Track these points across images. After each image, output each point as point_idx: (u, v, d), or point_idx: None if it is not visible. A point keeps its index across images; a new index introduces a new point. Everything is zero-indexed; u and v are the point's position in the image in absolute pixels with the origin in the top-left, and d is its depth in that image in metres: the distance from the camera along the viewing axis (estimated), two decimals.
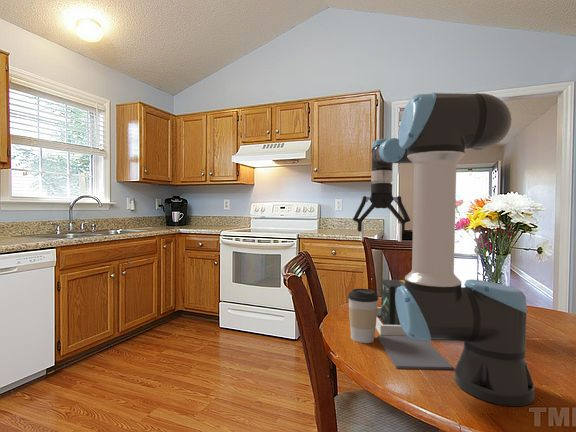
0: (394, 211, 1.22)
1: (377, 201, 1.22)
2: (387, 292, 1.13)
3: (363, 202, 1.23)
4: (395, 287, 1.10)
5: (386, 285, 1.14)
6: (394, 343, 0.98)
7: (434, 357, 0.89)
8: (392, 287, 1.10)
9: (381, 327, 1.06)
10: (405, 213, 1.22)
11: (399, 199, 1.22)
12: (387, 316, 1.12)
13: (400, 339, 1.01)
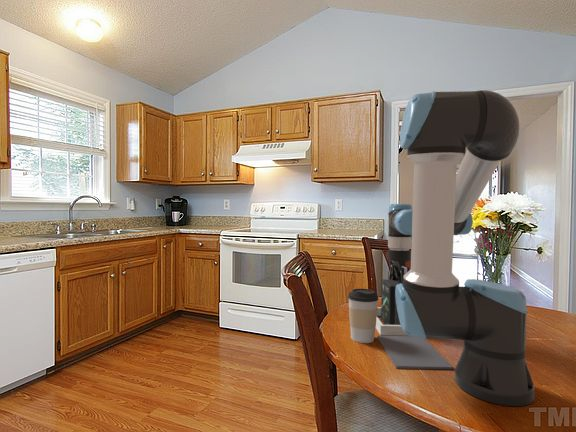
0: (399, 282, 1.11)
1: (392, 268, 1.17)
2: (387, 292, 1.13)
3: (390, 267, 1.22)
4: (395, 287, 1.10)
5: (386, 285, 1.14)
6: (394, 343, 0.98)
7: (434, 357, 0.89)
8: (392, 287, 1.10)
9: (381, 327, 1.06)
10: None
11: (401, 270, 1.09)
12: (387, 316, 1.12)
13: (400, 339, 1.01)
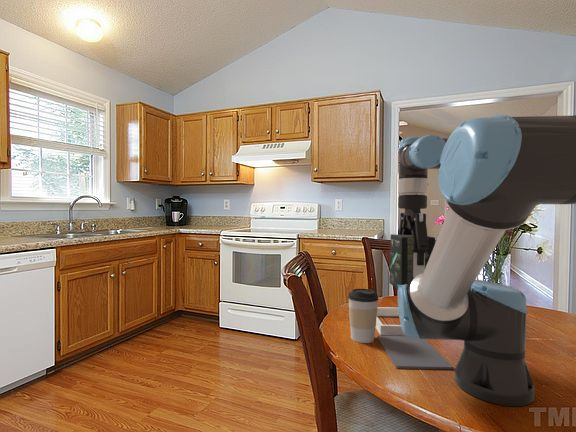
0: (412, 234, 0.90)
1: (403, 218, 0.96)
2: (398, 246, 0.92)
3: (400, 221, 1.00)
4: (408, 238, 0.89)
5: (396, 238, 0.93)
6: (394, 343, 0.98)
7: (434, 357, 0.89)
8: (404, 238, 0.89)
9: (381, 327, 1.06)
10: (417, 238, 0.86)
11: (415, 218, 0.88)
12: (398, 276, 0.91)
13: (400, 339, 1.01)
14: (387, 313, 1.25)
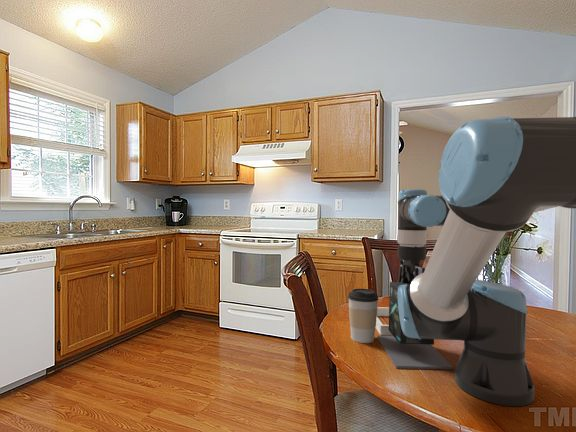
0: None
1: (402, 268, 0.96)
2: (397, 298, 0.92)
3: (399, 268, 1.01)
4: None
5: (395, 289, 0.93)
6: (394, 343, 0.98)
7: (434, 357, 0.89)
8: None
9: (381, 327, 1.06)
10: None
11: (414, 272, 0.88)
12: (397, 327, 0.91)
13: None
14: (387, 313, 1.25)
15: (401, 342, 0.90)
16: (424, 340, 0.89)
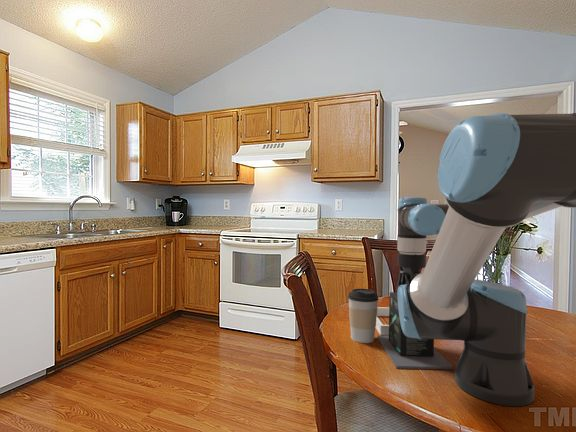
0: None
1: (402, 275, 0.96)
2: (397, 309, 0.92)
3: (399, 273, 1.01)
4: None
5: (395, 300, 0.93)
6: None
7: (434, 357, 0.89)
8: None
9: (381, 327, 1.06)
10: None
11: None
12: (397, 339, 0.91)
13: None
14: (387, 313, 1.25)
15: (401, 353, 0.90)
16: (424, 352, 0.89)
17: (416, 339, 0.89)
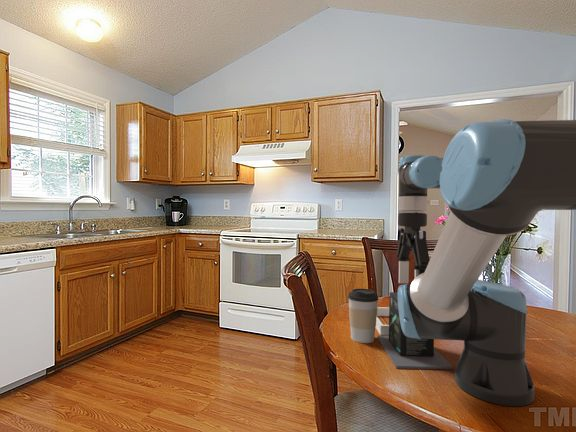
0: (413, 251, 0.89)
1: (403, 236, 0.96)
2: (397, 309, 0.92)
3: (400, 236, 1.01)
4: None
5: (395, 300, 0.93)
6: None
7: (434, 357, 0.89)
8: None
9: (381, 327, 1.06)
10: (418, 255, 0.86)
11: (415, 235, 0.88)
12: (397, 339, 0.91)
13: None
14: (387, 313, 1.25)
15: (401, 353, 0.90)
16: (424, 352, 0.89)
17: (416, 339, 0.89)
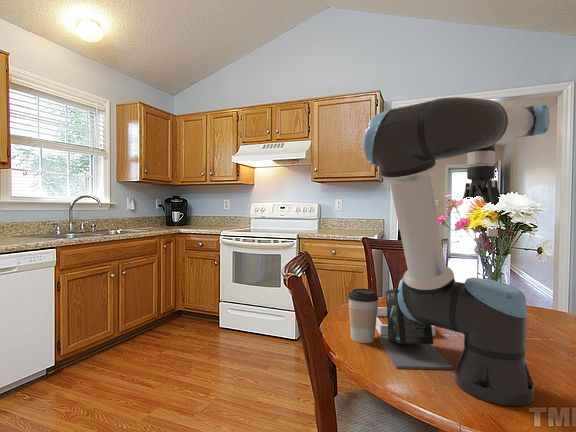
0: (484, 199, 1.01)
1: (471, 188, 1.07)
2: (393, 298, 0.96)
3: (465, 190, 1.12)
4: None
5: (391, 291, 0.98)
6: (394, 343, 0.98)
7: (434, 357, 0.89)
8: None
9: (381, 327, 1.06)
10: (492, 201, 0.97)
11: (487, 184, 0.99)
12: (396, 328, 0.93)
13: None
14: None
15: (400, 341, 0.90)
16: (423, 339, 0.90)
17: (414, 326, 0.91)
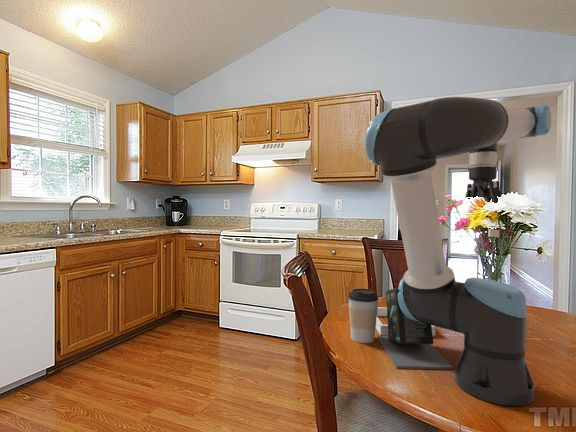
0: (486, 199, 1.02)
1: (473, 189, 1.08)
2: (393, 298, 0.96)
3: (467, 191, 1.13)
4: None
5: (391, 291, 0.98)
6: (394, 343, 0.98)
7: (434, 357, 0.89)
8: None
9: (381, 327, 1.06)
10: (493, 201, 0.98)
11: (489, 185, 1.00)
12: (396, 328, 0.93)
13: None
14: None
15: (400, 341, 0.90)
16: (423, 339, 0.90)
17: (414, 326, 0.91)
